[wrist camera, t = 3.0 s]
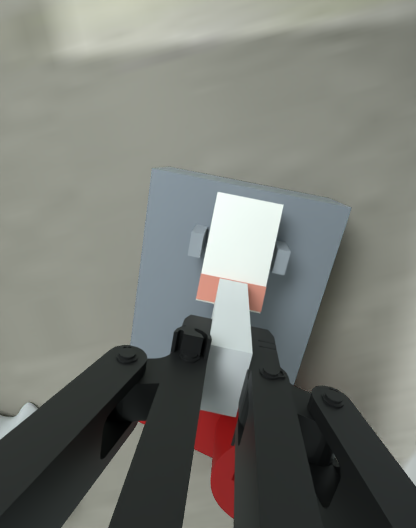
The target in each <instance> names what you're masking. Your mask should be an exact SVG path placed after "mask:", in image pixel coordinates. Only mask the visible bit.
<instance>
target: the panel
mask: <svg viewBox="0 0 416 528" xmlns="http://www.w3.org/2000/svg"><path fill="white" fill-rule="evenodd" d="M218 192H221V193H226V194H232V195H237V196H242V197H247V198H252V199H257V200H262V201H267V202H272V203H277V204H282V205H283V210H282V215H281V219H280V224H279V229H278V233H277V238H276V242H275V247H274V252H273V256H272V261H271V266H270V270H269V275H268V280H267V284H266V291H265V296H264V300H263V305H262V310H261V312H260V313H256V312H251V311H250V324H251V326H252V327H257V328H262V329H267V330H269V331H270V333H271V334H272V335H273V336H274V339H275V345H276V349H277V350H276V351H277V354H278V359H279V364H280V367H281V368H282V369H283V370H284V371H285V372H286V373H287V375H288V377H289V380H290V383H291V384H292V385H294V383H295V380H296V377H297V373H298V370H299V367H300V364H301V361H302V358H303V355H304V352H305V349H306V346H307V343H308V340H309V337H310V334H311V331H312V328H313V325H314V321H315V318H316V315H317V312H318V309H319V306H320V303H321V300H322V297H323V294H324V291H325V288H326V285H327V282H328V279H329V276H330V272H331V269H332V266H333V263H334V260H335V257H336V254H337V251H338V248H339V245H340V242H341V239H342V236H343V233H344V230H345V227H346V223H347V220H348V217H349V214H350V211H351V207H349V206H347V205H344V204H342V203H340V202H337V201H335V200H333V199H330V198H327V197H321V196H316V195H311V194H306V193H301V192H296V191H291V190H286V189H281V188H276V187H271V186H265V185H260V184H255V183H250V182H245V181H240V180H235V179H230V178H225V177H220V176H215V175H209V174H204V173H199V172H194V171H189V170H184V169H179V168H174V167H160V168H152V173H151V181H150V189H149V198H148V206H147V214H146V222H145V230H144V238H143V246H142V254H141V263H140V271H139V279H138V287H137V295H136V303H135V311H134V319H133V328H132V336H131V344H130V345H131V346H135V347H138V348H140V349H142V350H143V351H144V352H145V353H146V354H147V358H162V357H165V356H167V355H169V354H170V352H171V346H172V340H173V334H174V331H175V330H176V329H177V328H179V327H181V326H182V324H183V321H184V319H185V318H186V317H188V316H189V315H196V316H201V317H205V318H210V319H211V317H212V313H213V308H214V304H212V303H208V302H203V301H198V300H196V296H197V291H198V286H199V281H200V276H201V272H202V267H203V262H204V257H205V252H206V247H207V242H208V237H209V232H210V227H211V222H212V217H213V212H214V207H215V202H216V197H217V193H218Z"/></svg>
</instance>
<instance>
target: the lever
mask: <svg viewBox="0 0 416 528" xmlns="http://www.w3.org/2000/svg"><path fill="white" fill-rule="evenodd" d="M237 420H238V411H237V415H236V417H231V416H227V415H222V414H217V413H213V412H208V411H204V410H200V413H199V419H198V426H197V433H196V439H195V446H194V449H195V450H197V451H199V452H201V453H203V454H205V455H207V456H210V457H212V458H213V459H212V470H211V489H212V493H213V496H214V498H215V500H216V502H217V503H218V505H219V506H220V507H221V508H222V509H223V510H224V511H225V512H226V513H227V514H228V515H229V516H230V517H232V518H233V519H234V477H235V444H234V446H231V443H232V439H233V435H234V431H235V428H236V424H237ZM138 422H141V423H143V424H145V423H146V421H138Z"/></svg>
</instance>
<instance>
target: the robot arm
mask: <svg viewBox="0 0 416 528" xmlns="http://www.w3.org/2000/svg"><path fill="white" fill-rule="evenodd" d="M276 350H277V349H276V345H275V339H274V336H273V335H272V334H271V333H270V331H269V330H267V329H262V328H257V327H252V326H251V324H250V311H249V297H248V284H246V283H241V282H236V281H231V280H226V279H221V278H220V279H219V284H218V289H217V294H216V298H215V303H214V308H213V313H212V317H211V319H210V318H205V317H201V316H196V315H189V316H188V317H186V318H185V319H184V321H183V324H182V326H181V327H179V328H177V329H176V330H175V331H174V334H173V340H172V346H171V352H170V354H169V355H167V356H165V357H162V358H147V354H146V353H145V352H144V351H143V350H142V349H140V348H138V347H135V346H131V345H122V346H117V347H114V348H113V349H111V350H109V351H108V352H107V353H106V354H104V355H103V356H102V357H101V358H99V359H98V360H97V361H96V362H95V363H93V364H92V365H91V366H90V367H88V368H87V369H86V370H85V371H84V372H82V373H81V374H80V375H79V376H77V377H76V378H75V379H74V380H73V381H71V382H70V383H69V384H68V385H66V386H65V387H64V388H63V389H62V390H60V391H59V392H58V393H57V394H55V395H54V396H53V397H52V398H51V399H49V400H48V401H47V402H46V403H44V404H43V405H42V406H41V407H40V408H38V409H37V410H36V411H35V412H33V413H32V414H31V415H30V416H29V417H27V418H26V419H25V420H24V421H22V422H21V423H20V424H19V425H17V426H16V427H15V428H14V429H13V430H11V431H10V432H9V433H8V434H6V435H5V436H4V437H3V438H2V439H0V528H61V527H62V526H63V524H64V523H65V521H66V520H67V519H68V517H69V516H70V515H71V513H72V512H73V511H74V509H75V508H76V507H77V505H78V504H79V503H80V501H81V500H82V499H83V497H84V496H85V495H86V493H87V492H88V490H89V489H90V488H91V486H92V485H93V484H94V482H95V481H96V480H97V478H98V477H99V476H100V474H101V473H102V472H103V470H104V469H105V468H106V466H107V465H108V463H109V462H110V461H111V459H112V458H113V457H114V455H115V454H116V453H117V451H118V450H119V449H120V447H121V446H122V445H123V443H124V442H125V441H126V439H127V438H128V437H129V435H130V434H131V432H132V431H133V430H134V428H135V427H136V425H137V423H138V421H146V423H145V426H144V428H143V431H142V434H141V437H140V440H139V443H138V445H137V448H136V451H135V454H134V457H133V459H132V462H131V465H130V468H129V471H128V474H127V476H126V479H125V482H124V485H123V488H122V491H121V493H120V496H119V499H118V502H117V505H116V508H115V510H114V513H113V516H112V519H111V522H110V525H109V527H108V528H182V525H183V518H184V511H185V505H186V498H187V492H188V485H189V479H190V472H191V465H192V459H193V452H194V446H195V439H196V433H197V426H198V419H199V413H200V410H204V411H208V412H213V413H217V414H222V415H227V416H231V417H236V415H237V411H238V420H237V424H236V428H235V431H234V435H233V439H232V443H231V446H234V444H235V477H234V528H416V486H415V485H414V484H413V482H412V481H411V480H410V478H409V477H408V476H407V474H406V473H405V472H404V470H403V469H402V468H401V466H400V465H399V464H398V462H397V461H396V460H395V459H394V457H393V456H392V455H391V453H390V452H389V451H388V449H387V448H386V447H385V445H384V444H383V443H382V441H381V440H380V439H379V437H378V436H377V435H376V433H375V432H374V431H373V429H372V428H371V427H370V426H369V424H368V423H367V422H366V420H365V419H364V418H363V416H362V415H361V414H360V412H359V411H358V410H357V408H356V407H355V406H354V404H353V403H352V402H351V400H350V399H349V398H348V397H347V396H346V395H344V394H343V393H341V392H340V391H338V390H337V389H334V388H332V387H328V386H316V387H315V388H313V390H312V392H311V393H309V392H306V391H304V390H302V389H300V388H298V387H296V386H294V385H292V384H291V383H290V380H289V377H288V375H287V373H286V372H285V371H284V370H283V369H282V368H281V367H280V364H279V359H278V354H277V351H276ZM335 457H336V458H335ZM336 459H337V460H336ZM337 461H338V462H337Z"/></svg>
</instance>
